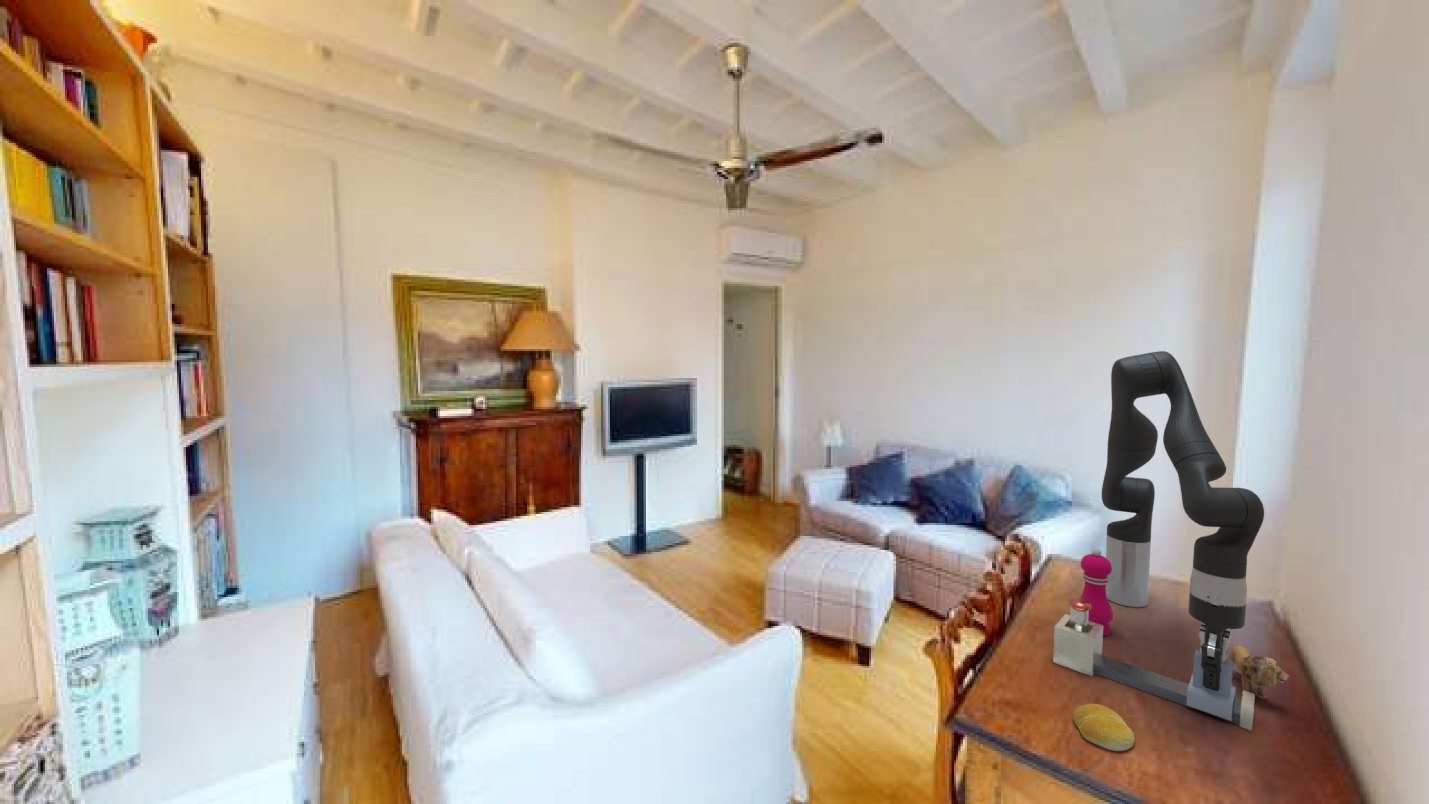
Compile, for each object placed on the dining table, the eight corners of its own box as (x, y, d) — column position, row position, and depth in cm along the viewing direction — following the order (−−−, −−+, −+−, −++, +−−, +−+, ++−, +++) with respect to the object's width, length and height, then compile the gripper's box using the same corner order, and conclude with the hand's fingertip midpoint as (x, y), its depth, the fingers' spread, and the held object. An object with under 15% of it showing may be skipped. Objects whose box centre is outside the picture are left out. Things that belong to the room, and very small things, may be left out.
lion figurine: (1291, 713, 96) (1294, 666, 96) (1255, 708, 98) (1258, 662, 97) (1237, 667, 111) (1240, 626, 110) (1206, 664, 112) (1209, 623, 111)
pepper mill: (1100, 622, 130) (1103, 543, 128) (1119, 638, 123) (1123, 554, 121) (1068, 621, 131) (1071, 543, 129) (1086, 637, 123) (1089, 554, 122)
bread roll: (1088, 750, 89) (1089, 727, 89) (1067, 714, 98) (1067, 694, 97) (1145, 758, 87) (1146, 735, 87) (1118, 721, 96) (1119, 700, 95)
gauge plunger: (1070, 621, 116) (1071, 596, 115) (1092, 628, 113) (1093, 602, 112) (1065, 628, 113) (1066, 602, 113) (1087, 635, 110) (1088, 608, 110)
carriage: (1191, 688, 103) (1194, 644, 102) (1234, 702, 98) (1237, 656, 98) (1186, 705, 98) (1189, 659, 97) (1231, 721, 94) (1234, 672, 93)
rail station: (1064, 648, 119) (1065, 614, 118) (1253, 712, 97) (1256, 670, 96) (1053, 662, 114) (1054, 626, 113) (1251, 733, 92) (1254, 690, 91)
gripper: (1194, 577, 104) (1189, 661, 105) (1184, 600, 95) (1179, 692, 96) (1248, 589, 98) (1242, 677, 100) (1243, 615, 89) (1237, 712, 90)
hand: (1211, 684), depth 98 cm, fingers closed on carriage, 2 cm apart
